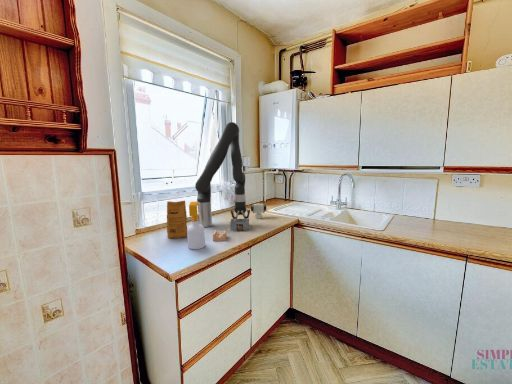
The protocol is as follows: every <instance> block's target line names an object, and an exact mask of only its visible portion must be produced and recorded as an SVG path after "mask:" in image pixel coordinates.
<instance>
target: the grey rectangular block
mask: <svg viewBox="0 0 512 384" xmlns="http://www.w3.org/2000/svg"><path fill="white" fill-rule="evenodd" d="M229 224H230V225H229V226H230V232H236V231H237V232H238V224H243V231H245V232H246V231H248V232H249V231H250V218H247V219H244V218H237V219H233V218H231V219H230V221H229ZM243 231H242V232H243Z"/></svg>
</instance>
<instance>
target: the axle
mask: <svg viewBox="0 0 512 384" xmlns="http://www.w3.org/2000/svg"><path fill="white" fill-rule="evenodd" d="M237 232H243V224H237Z"/></svg>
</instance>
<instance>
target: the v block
mask: <svg viewBox="0 0 512 384" xmlns="http://www.w3.org/2000/svg"><path fill="white" fill-rule="evenodd" d="M226 239H227V230H226V229H224V230H223V231H222V232H221V233H219V231H218V230H216V229H215V230H214V231H213V233H212V241H213V242H216V241H217V242H220V241H221V242H223V241H224V242H225V241H226Z"/></svg>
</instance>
